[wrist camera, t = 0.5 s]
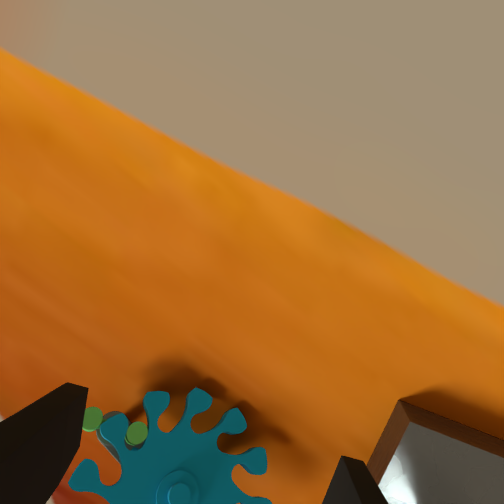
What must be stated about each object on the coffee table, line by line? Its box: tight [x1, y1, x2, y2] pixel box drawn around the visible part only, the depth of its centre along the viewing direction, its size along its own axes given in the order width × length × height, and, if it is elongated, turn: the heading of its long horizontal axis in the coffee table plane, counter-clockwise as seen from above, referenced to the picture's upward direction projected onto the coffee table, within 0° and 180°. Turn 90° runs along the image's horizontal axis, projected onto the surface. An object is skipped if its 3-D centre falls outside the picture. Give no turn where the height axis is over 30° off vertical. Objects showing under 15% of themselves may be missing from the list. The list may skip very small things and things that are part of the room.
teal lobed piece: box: [68, 387, 272, 504], centre depth 20 cm, size 11×6×10 cm
